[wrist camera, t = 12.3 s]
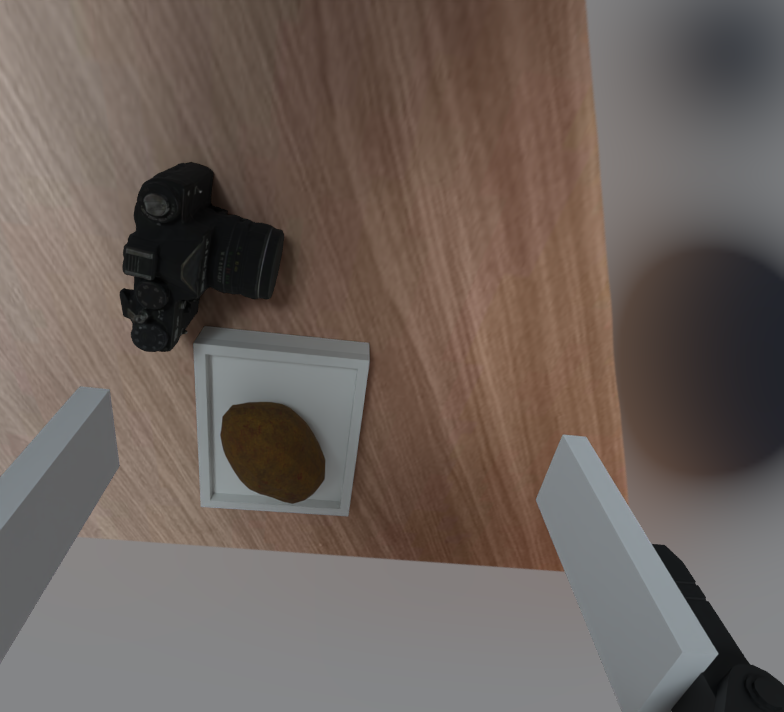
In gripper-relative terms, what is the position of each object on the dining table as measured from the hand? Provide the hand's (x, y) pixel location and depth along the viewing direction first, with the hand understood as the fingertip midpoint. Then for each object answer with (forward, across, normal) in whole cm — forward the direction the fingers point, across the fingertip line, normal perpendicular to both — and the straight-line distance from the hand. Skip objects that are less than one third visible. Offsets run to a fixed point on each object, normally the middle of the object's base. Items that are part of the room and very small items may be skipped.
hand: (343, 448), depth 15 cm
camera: (+34, -11, -6) cm, 36 cm away
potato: (+30, -5, -24) cm, 39 cm away
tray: (+33, -5, -24) cm, 41 cm away
